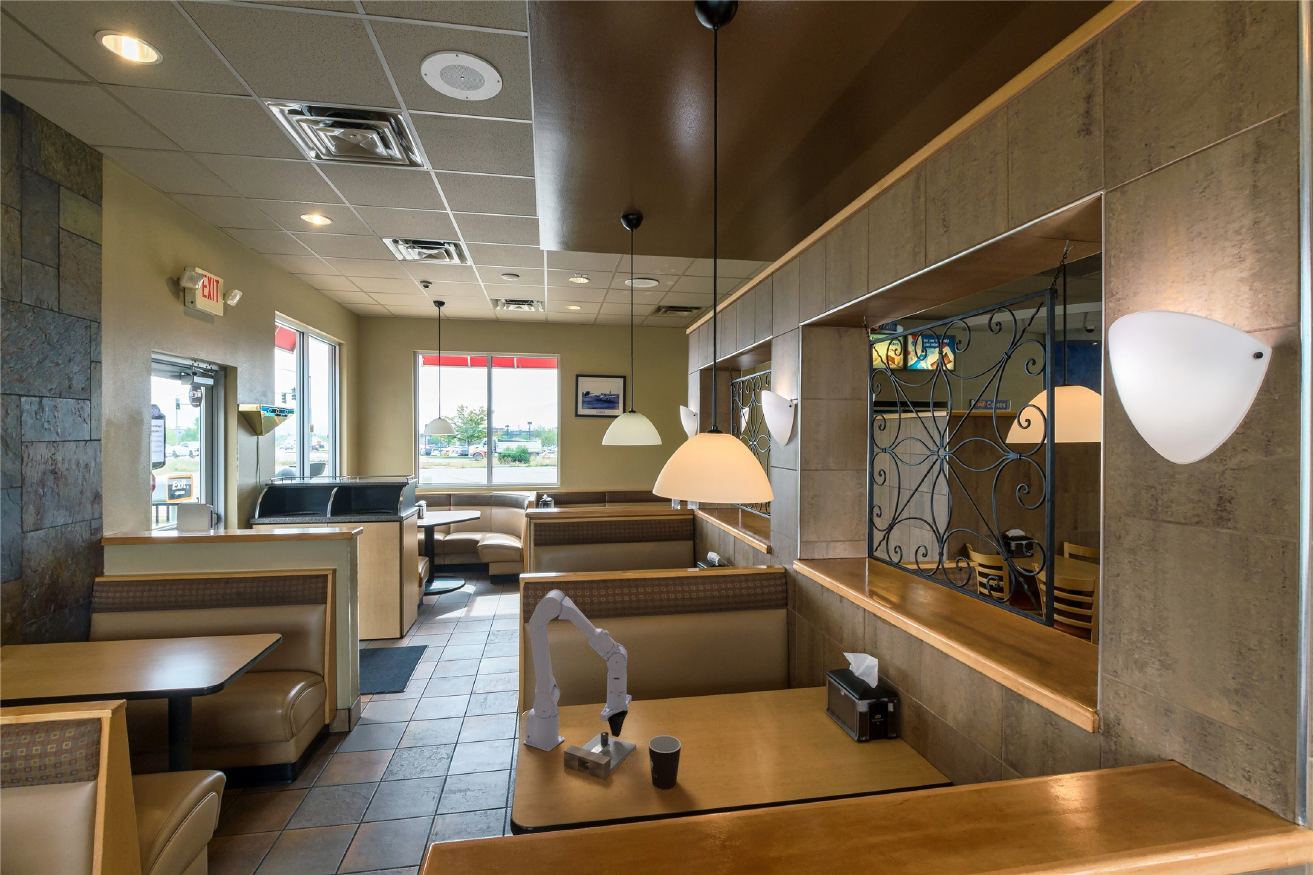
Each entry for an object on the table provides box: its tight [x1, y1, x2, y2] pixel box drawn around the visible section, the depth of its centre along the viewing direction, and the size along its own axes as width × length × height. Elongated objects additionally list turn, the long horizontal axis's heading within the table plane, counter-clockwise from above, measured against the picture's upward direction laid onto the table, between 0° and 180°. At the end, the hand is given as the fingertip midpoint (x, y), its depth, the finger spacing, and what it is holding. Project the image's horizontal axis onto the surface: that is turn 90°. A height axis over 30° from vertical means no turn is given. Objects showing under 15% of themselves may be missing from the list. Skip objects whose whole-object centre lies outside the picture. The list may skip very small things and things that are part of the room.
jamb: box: [563, 744, 612, 781], centre depth 152 cm, size 13×4×4 cm, turn 63°
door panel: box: [581, 733, 637, 773], centre depth 159 cm, size 13×14×3 cm
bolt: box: [591, 731, 610, 754], centre depth 157 cm, size 2×7×4 cm, turn 152°
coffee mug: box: [648, 734, 682, 790], centre depth 148 cm, size 12×9×10 cm
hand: (615, 735), depth 165 cm, fingers closed
